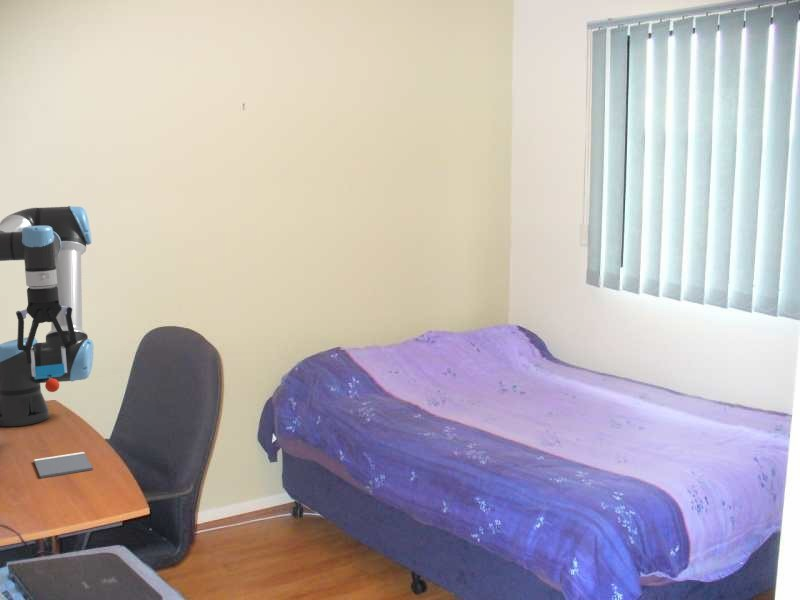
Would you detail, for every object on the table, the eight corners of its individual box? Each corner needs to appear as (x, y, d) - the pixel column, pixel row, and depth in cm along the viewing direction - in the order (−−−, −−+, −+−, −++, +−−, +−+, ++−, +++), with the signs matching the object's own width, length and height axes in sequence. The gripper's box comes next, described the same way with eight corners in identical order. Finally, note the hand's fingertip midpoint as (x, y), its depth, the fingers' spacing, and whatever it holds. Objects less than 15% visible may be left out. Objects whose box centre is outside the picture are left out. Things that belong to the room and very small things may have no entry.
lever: (36, 396, 263) (38, 393, 246) (33, 370, 263) (36, 365, 247) (63, 393, 265) (67, 389, 249) (60, 367, 266) (64, 362, 250)
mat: (34, 461, 245) (33, 459, 245) (84, 454, 250) (83, 451, 250) (40, 478, 233) (40, 475, 232) (92, 469, 238) (92, 467, 238)
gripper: (1, 291, 244) (9, 381, 248) (84, 284, 253) (91, 371, 257) (-1, 288, 251) (7, 375, 255) (80, 281, 259) (87, 366, 263)
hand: (49, 373), depth 256 cm, fingers closed on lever, 7 cm apart
